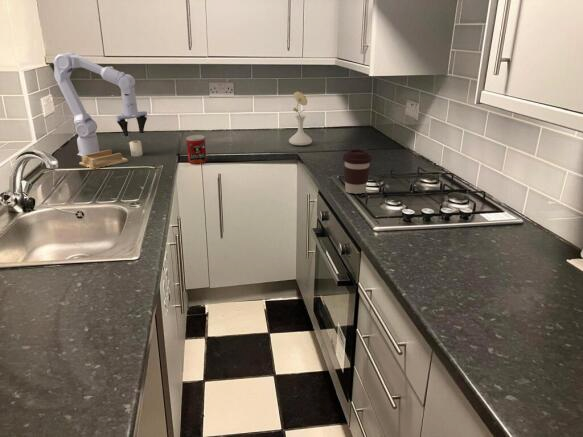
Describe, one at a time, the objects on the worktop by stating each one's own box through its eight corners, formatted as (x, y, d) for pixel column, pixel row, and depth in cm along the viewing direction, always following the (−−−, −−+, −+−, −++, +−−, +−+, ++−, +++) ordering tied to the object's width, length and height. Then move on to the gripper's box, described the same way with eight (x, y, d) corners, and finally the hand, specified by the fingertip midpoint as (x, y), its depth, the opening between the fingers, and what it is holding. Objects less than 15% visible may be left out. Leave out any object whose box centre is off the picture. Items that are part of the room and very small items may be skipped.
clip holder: (79, 164, 201) (78, 155, 199) (113, 156, 212) (112, 147, 210) (93, 169, 194) (92, 160, 192) (128, 161, 205) (127, 152, 203)
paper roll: (129, 155, 213) (127, 141, 211) (138, 152, 217) (136, 139, 214) (135, 157, 210) (133, 143, 208) (144, 154, 214) (143, 141, 211)
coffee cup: (366, 187, 174) (369, 147, 167) (371, 196, 164) (374, 155, 158) (339, 187, 173) (341, 147, 167) (343, 197, 164) (345, 155, 158)
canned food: (189, 165, 199) (187, 140, 194) (188, 160, 206) (185, 135, 201) (207, 164, 201) (205, 138, 196) (205, 158, 208) (203, 134, 203)
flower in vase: (315, 146, 227) (316, 93, 217) (294, 148, 223) (294, 94, 213) (305, 139, 238) (305, 89, 228) (284, 142, 234) (283, 90, 224)
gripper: (119, 107, 197) (124, 139, 202) (149, 102, 207) (153, 132, 212) (110, 105, 201) (115, 136, 207) (140, 100, 211) (144, 130, 217)
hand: (134, 134), depth 210 cm, fingers open, 7 cm apart
